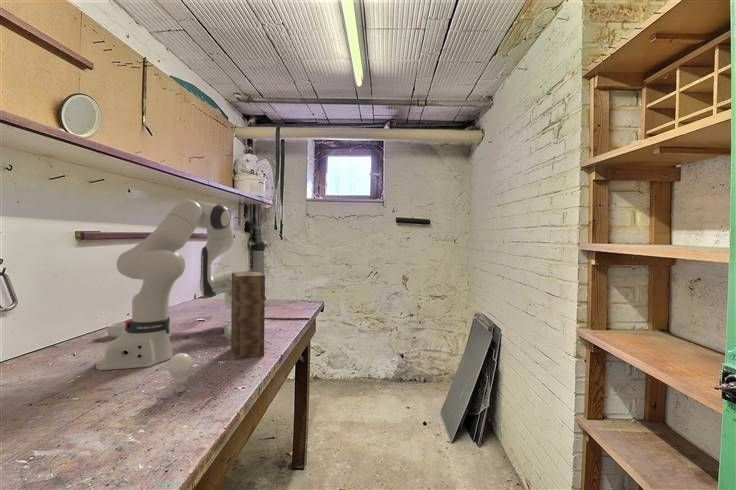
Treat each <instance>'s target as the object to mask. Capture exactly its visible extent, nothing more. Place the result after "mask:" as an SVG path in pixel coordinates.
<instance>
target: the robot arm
mask: <svg viewBox="0 0 736 490" xmlns="http://www.w3.org/2000/svg"><path fill="white" fill-rule="evenodd" d="M231 220H232V215H231V211H230V210H229V209H228V208H227V206H224V205H222V204H215V203H211V202H206V201H195V200H192V199H187V198H186V199H182V200H181V201H179V202H177V204H175V206H173V208H171V209H170V211H169V212H168V213H167V214H166V216H165V217H164V218H163V219H162V220H161V222H160V223H159V224H158V225H157V227H156V228H155V230H153V231H152V233H151V234H149V235H148V236H147V237H146V238H144V239H143V240H142V241H141V242H139V243H138V244H136V245H135V246H134V247H132V248H130V249H128V250H126V251H124V252H122V253H121V254H120V255H119V256H118V257H117V260H116V268H117V271H118V272H119V274H120V275H122V276H124V277H126V278H130V279H132V280H142V285H141V288H140V290H139V292H138V293H136V294H135V295H133V298H132V300H131V302H132V303H131V318H132V319H126V321H124V322H125V331H126V332H124V333H123V334H122V335H120V336H119V337H118V338H114V340H112V341H110V343H109V344H108V346H107V347H106V349H105V352H104V356H103V357H101V358H99V359H98V360H97V362H96V363H95V364H96V365H95V369H96V370H98V371H109V370H121V369H136V368H148V367H152V366H154V365H157V364H158V363H159V364H160V363H161V362H165V361H168V360H170V359H171V357H173V356H174V352H173V349H172V345H171V340H170V332H171V320H170V316H169V309H170V307H169V306H170V305H169V304H170V301H169V300H170V295H171V292H172V288H173V287H174V284H175V283H176V281H177V280H178V279H180V277H182V275H183V274H184V271H185V269H186V262H185V259H184V257H183V255H181V254H180V253H178V252H177V251H179V250H181V249H182V248H183V247H185V245H186V244H187V242H188V241H189V239H190V237H191V236H192V235H193V233H194V231H195V230H196V228H201V229H204V230H205V229H206V236H207V238H206V239H207V241H206V243H205V246H203V247H202V248H201V251H200V252H201V253H200V278H199V279H200V280H199V290H200V293H201V295H202V296H203V297H206V298H213V297H216V296H217V295H220V294H224V297H223V298H224V304H225V306H226V307H228V308H230V309H231V306H232V272H236V271H235V270H233V269H232V270H231V269H230V270H227V271H223V272H221V273H218V274H213V275H212V266H213V265H212V264H213V262H214V261H215V260H216V259H217V258H218V257H220V256H222V255H223V254H225V253H227V252H228V251H229V250H230V249H231V248H232V246H233V244H234V232H233V226H232V223H231Z"/></svg>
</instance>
